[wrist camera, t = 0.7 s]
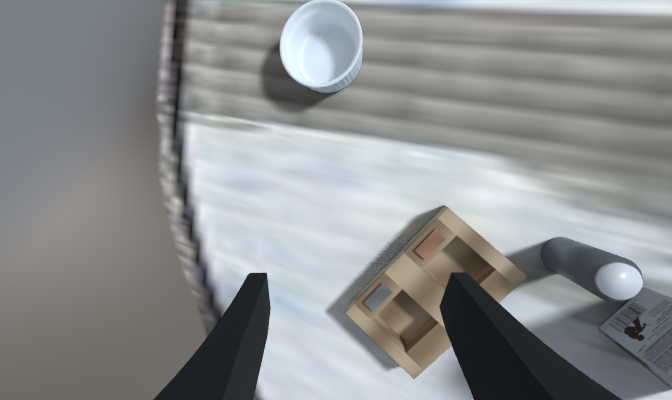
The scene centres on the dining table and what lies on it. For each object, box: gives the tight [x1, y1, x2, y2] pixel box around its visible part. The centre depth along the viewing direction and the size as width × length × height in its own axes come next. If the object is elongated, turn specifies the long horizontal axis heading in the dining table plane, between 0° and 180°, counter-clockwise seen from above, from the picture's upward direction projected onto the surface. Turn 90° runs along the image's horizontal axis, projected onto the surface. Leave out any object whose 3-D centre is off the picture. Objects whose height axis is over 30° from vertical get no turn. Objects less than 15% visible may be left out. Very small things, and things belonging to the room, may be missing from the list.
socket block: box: [346, 206, 528, 379], centre depth 32 cm, size 10×16×3 cm, turn 139°
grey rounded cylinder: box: [541, 237, 643, 302], centre depth 27 cm, size 4×4×9 cm
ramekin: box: [280, 0, 363, 93], centre depth 33 cm, size 9×9×4 cm
